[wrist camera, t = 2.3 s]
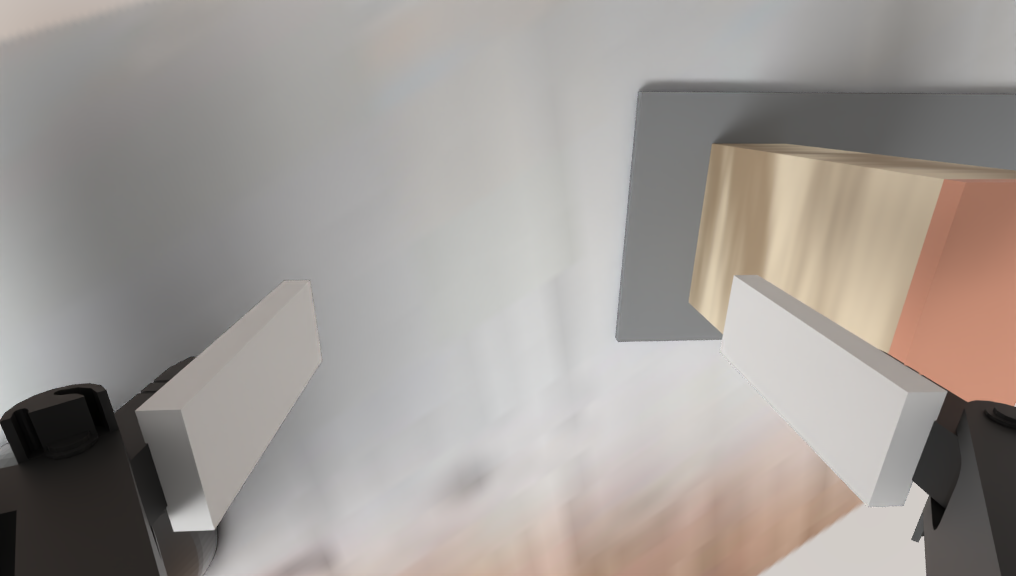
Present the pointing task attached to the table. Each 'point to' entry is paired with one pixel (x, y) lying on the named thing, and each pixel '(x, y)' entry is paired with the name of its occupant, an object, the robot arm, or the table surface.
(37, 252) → the table surface
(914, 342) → the block
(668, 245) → the mat
